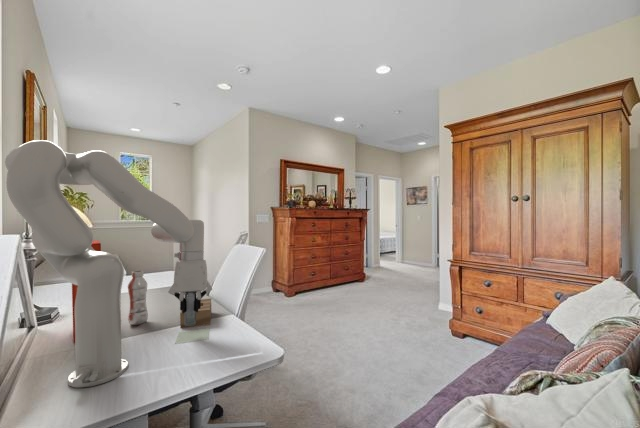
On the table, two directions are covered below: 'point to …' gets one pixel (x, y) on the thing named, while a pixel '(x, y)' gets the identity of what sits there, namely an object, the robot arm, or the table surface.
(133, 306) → the plastic bottle
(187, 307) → the peg
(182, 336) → the mat
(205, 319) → the hole block
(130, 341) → the table surface
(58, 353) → the table surface
